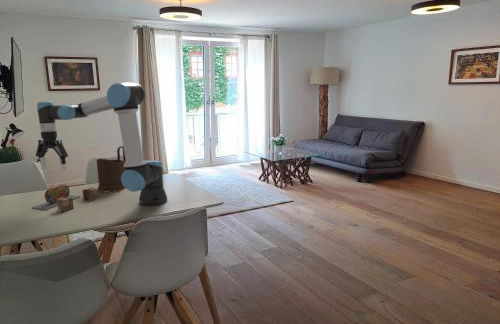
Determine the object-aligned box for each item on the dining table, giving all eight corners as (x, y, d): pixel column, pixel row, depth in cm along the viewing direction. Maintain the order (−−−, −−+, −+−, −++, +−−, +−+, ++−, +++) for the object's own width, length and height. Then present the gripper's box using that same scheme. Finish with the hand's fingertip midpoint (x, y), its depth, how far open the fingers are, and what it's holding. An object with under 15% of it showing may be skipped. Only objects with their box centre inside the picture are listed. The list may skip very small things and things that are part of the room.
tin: (49, 205, 195) (47, 190, 194) (44, 204, 196) (42, 189, 195) (70, 197, 209) (69, 183, 208) (66, 196, 210) (64, 182, 209)
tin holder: (97, 198, 208) (96, 188, 207) (66, 211, 187) (64, 200, 186) (90, 197, 210) (88, 187, 209) (57, 210, 189) (56, 199, 188)
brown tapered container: (90, 190, 225) (86, 151, 220) (115, 181, 248) (111, 145, 243) (115, 192, 220) (112, 152, 215) (138, 183, 242) (135, 146, 237)
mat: (80, 197, 212) (80, 196, 212) (46, 210, 189) (46, 208, 189) (67, 195, 215) (67, 194, 215) (31, 208, 193) (31, 207, 192)
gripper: (24, 131, 195) (30, 169, 199) (61, 132, 187) (66, 172, 191) (37, 129, 202) (42, 167, 206) (72, 130, 194) (76, 169, 198)
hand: (53, 169), depth 198 cm, fingers open, 13 cm apart
